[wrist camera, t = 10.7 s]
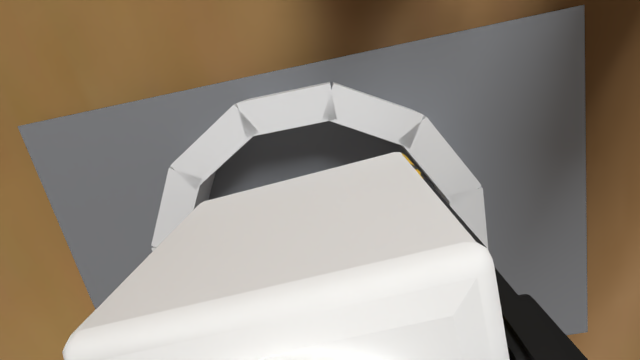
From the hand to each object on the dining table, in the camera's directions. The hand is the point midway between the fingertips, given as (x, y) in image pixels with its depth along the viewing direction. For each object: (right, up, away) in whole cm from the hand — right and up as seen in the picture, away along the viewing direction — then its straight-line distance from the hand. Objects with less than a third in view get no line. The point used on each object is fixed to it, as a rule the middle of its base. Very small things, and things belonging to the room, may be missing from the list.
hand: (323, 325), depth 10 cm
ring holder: (0, +2, +7) cm, 7 cm away
